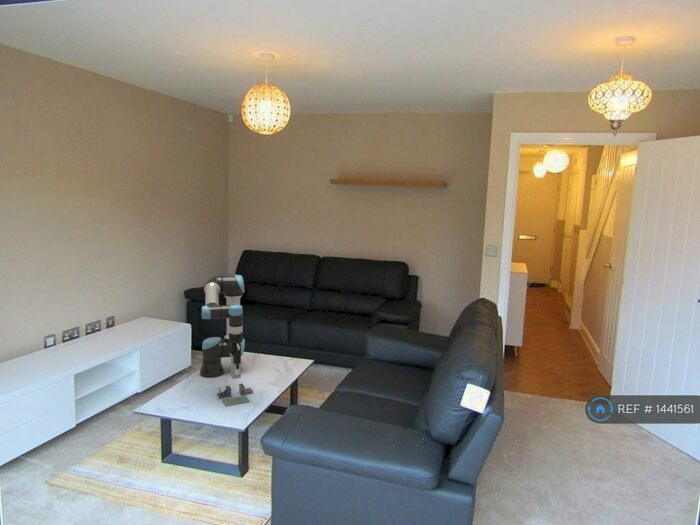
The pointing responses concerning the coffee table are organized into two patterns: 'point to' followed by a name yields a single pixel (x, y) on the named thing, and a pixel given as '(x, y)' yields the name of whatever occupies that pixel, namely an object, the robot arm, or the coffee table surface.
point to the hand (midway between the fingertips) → (235, 372)
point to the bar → (233, 366)
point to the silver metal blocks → (227, 391)
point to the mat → (235, 400)
